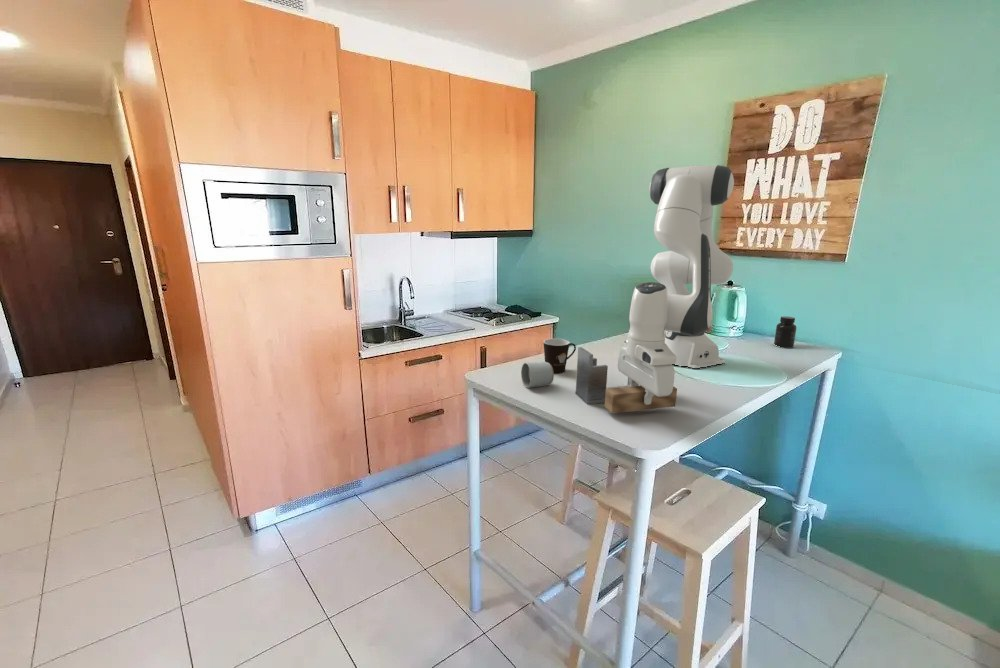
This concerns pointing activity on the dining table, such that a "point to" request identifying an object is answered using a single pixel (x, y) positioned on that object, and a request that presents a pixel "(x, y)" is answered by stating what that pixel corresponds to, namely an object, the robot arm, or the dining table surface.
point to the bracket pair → (591, 378)
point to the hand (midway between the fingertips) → (640, 399)
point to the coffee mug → (557, 353)
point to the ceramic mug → (537, 374)
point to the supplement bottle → (785, 332)
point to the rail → (635, 399)
